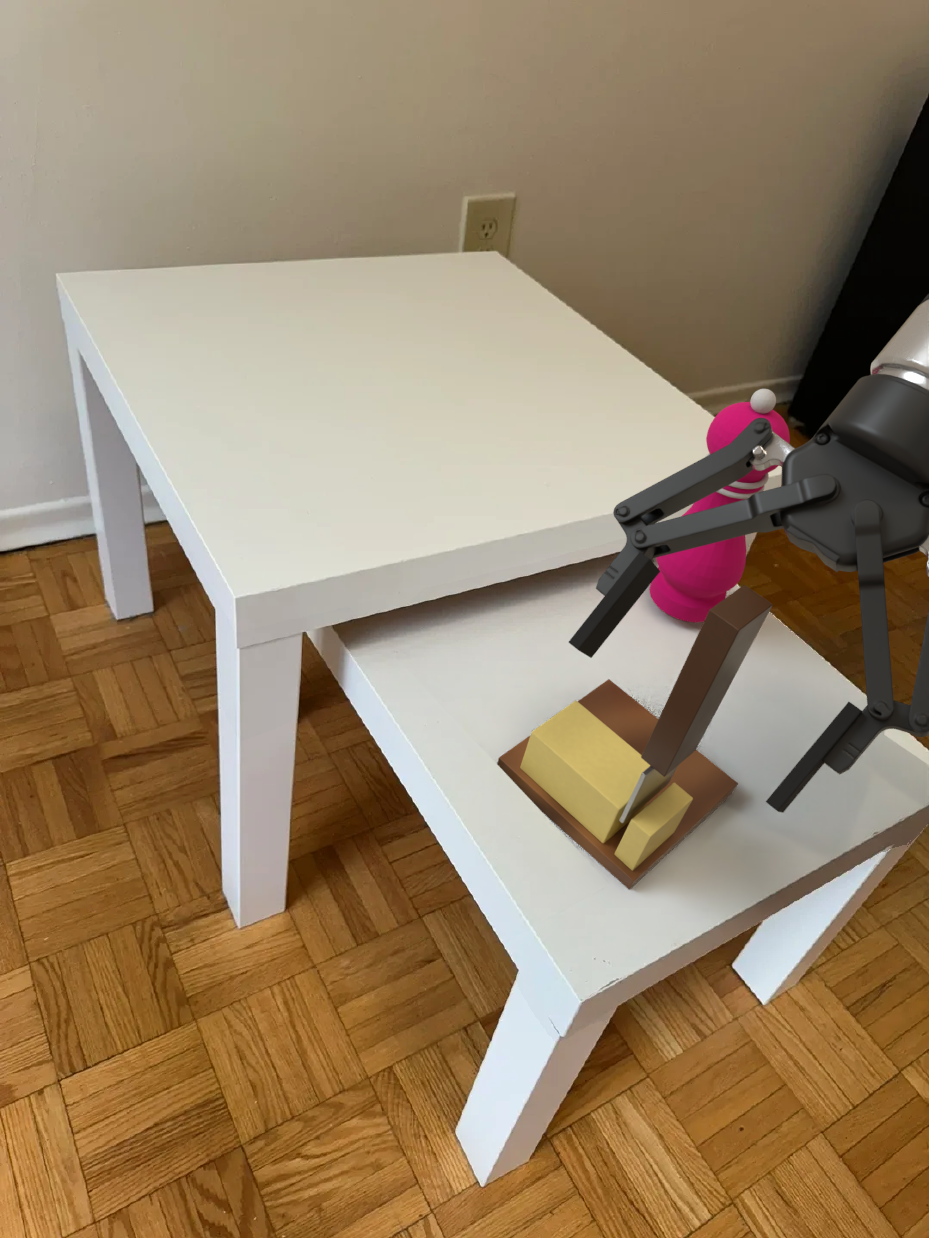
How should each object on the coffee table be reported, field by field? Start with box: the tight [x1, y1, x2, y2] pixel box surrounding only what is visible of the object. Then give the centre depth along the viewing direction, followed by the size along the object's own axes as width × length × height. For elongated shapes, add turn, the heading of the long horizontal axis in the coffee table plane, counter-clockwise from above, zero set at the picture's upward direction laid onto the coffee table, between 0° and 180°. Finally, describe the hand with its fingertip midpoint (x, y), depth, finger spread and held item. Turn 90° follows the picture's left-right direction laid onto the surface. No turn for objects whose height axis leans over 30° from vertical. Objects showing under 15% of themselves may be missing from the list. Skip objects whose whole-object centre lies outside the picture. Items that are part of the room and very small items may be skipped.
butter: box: [520, 700, 693, 871], centre depth 61 cm, size 10×4×4 cm, turn 44°
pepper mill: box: [649, 388, 791, 623], centre depth 74 cm, size 7×7×20 cm
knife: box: [619, 584, 774, 823], centre depth 52 cm, size 2×5×17 cm, turn 134°
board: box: [496, 678, 739, 890], centre depth 65 cm, size 12×12×2 cm
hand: (670, 724), depth 51 cm, fingers open, 13 cm apart
